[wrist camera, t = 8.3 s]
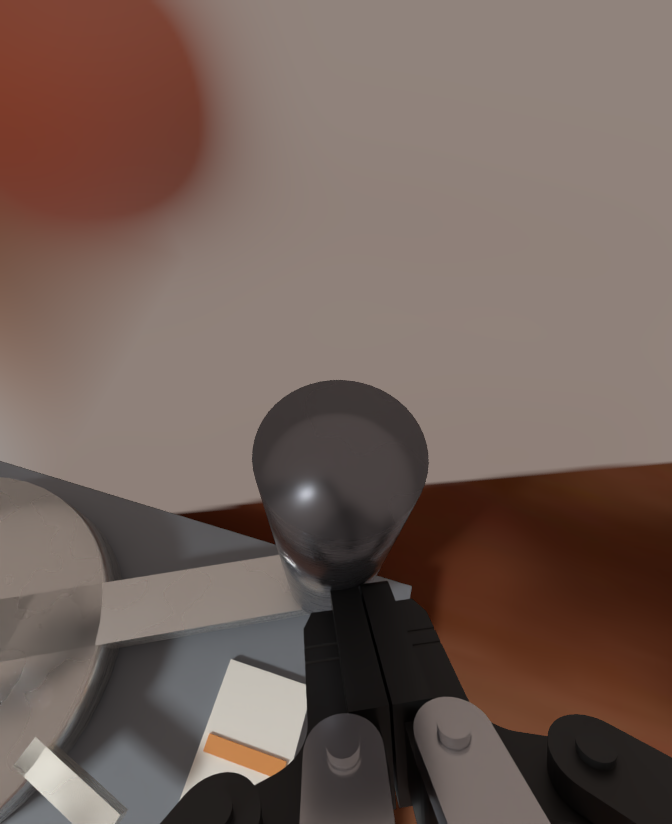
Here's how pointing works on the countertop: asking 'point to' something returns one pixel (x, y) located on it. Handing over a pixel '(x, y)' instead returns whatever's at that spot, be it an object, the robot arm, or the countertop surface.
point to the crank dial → (187, 577)
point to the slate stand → (183, 673)
